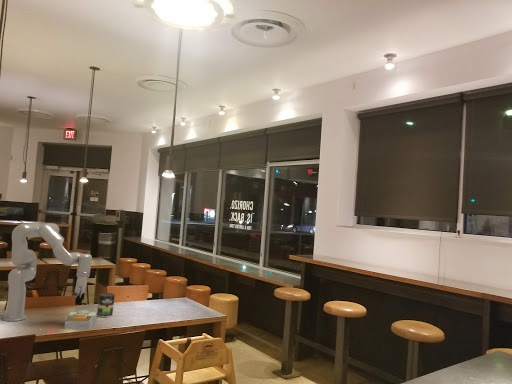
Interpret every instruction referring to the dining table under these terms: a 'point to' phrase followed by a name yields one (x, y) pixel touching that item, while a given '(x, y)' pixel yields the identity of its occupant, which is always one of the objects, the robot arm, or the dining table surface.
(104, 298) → the coffee can
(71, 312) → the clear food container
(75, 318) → the chute block
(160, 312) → the dining table surface
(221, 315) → the dining table surface
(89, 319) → the clear square container
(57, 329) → the dining table surface
